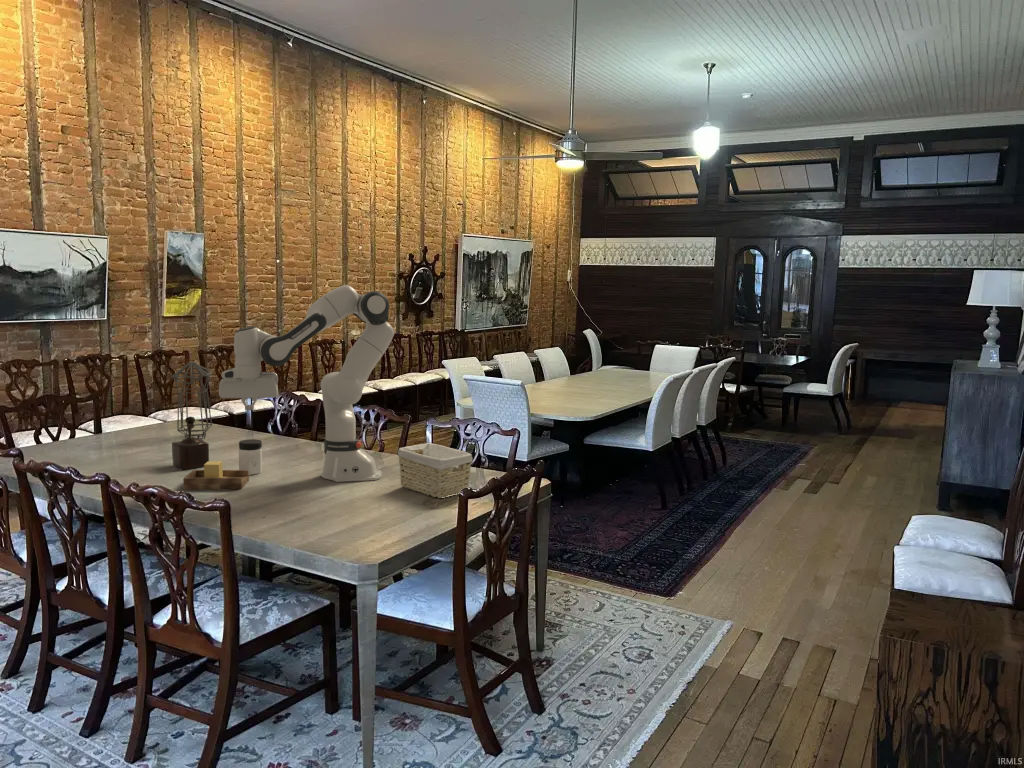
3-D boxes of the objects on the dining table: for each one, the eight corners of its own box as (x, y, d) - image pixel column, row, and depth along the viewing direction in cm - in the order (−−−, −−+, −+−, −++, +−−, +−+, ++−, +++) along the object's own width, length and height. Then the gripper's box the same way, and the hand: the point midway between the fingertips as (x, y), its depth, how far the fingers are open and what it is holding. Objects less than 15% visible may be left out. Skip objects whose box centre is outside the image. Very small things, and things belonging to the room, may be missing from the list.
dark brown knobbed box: (211, 466, 296) (210, 420, 293) (183, 470, 288) (182, 423, 285) (194, 459, 306) (193, 415, 304) (166, 463, 298) (165, 418, 296)
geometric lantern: (210, 440, 341) (207, 363, 336) (173, 442, 338) (169, 364, 333) (216, 433, 357) (212, 359, 351) (180, 434, 353) (176, 360, 348)
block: (222, 477, 272) (222, 461, 271) (219, 481, 267) (218, 464, 266) (208, 477, 271) (207, 461, 270) (204, 481, 266) (204, 464, 265)
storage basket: (473, 493, 270) (474, 452, 268) (439, 501, 258) (440, 459, 256) (429, 480, 286) (430, 441, 284) (395, 487, 274) (395, 447, 272)
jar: (243, 476, 282) (243, 444, 281) (234, 471, 288) (234, 440, 287) (266, 472, 288) (266, 442, 287) (257, 468, 294) (257, 438, 293)
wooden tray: (248, 480, 276) (248, 470, 276) (241, 489, 264) (241, 478, 264) (193, 480, 274) (193, 469, 273) (183, 489, 262) (183, 478, 262)
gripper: (279, 370, 277) (280, 408, 279) (221, 371, 274) (222, 408, 276) (276, 373, 271) (277, 411, 273) (216, 373, 268) (218, 412, 270)
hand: (249, 410), depth 274 cm, fingers closed
